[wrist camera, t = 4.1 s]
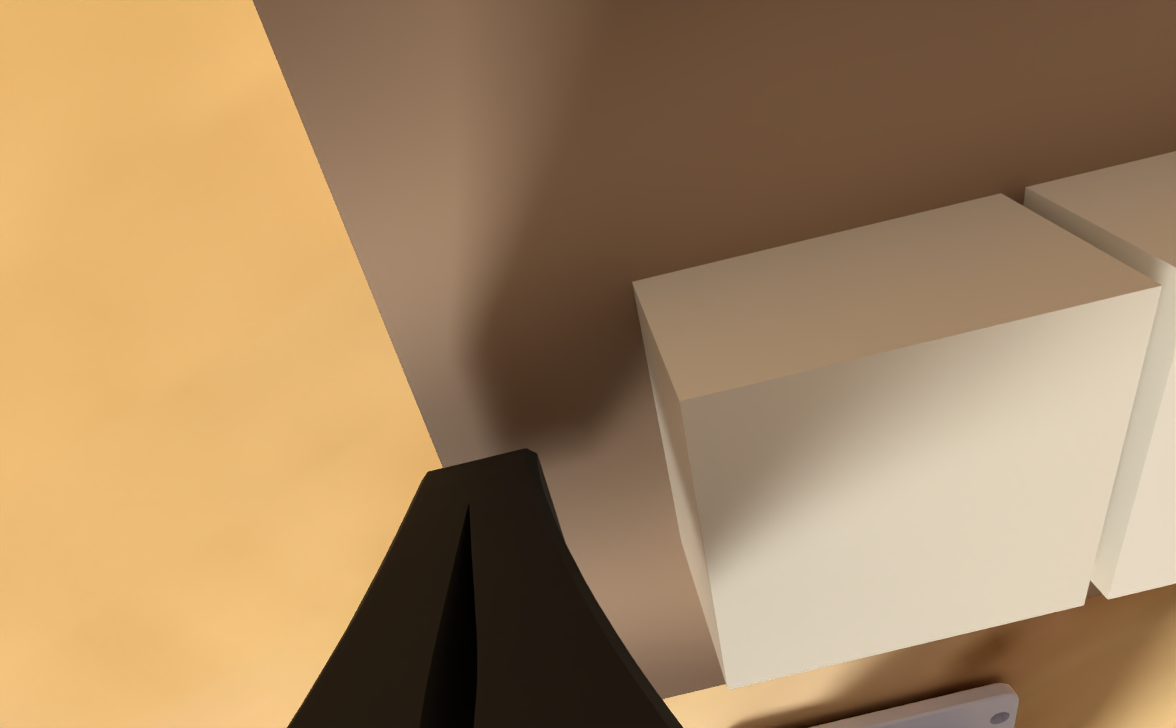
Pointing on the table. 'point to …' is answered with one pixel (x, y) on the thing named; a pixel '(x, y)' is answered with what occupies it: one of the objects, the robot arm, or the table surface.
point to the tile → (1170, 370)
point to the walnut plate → (666, 199)
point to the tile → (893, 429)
